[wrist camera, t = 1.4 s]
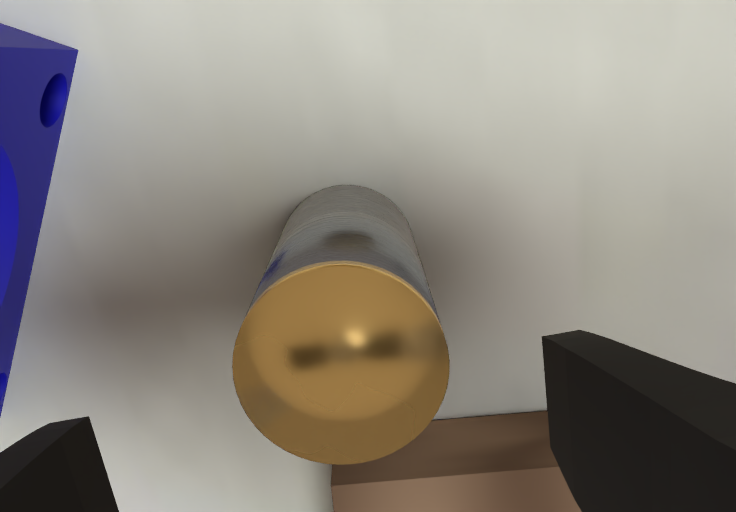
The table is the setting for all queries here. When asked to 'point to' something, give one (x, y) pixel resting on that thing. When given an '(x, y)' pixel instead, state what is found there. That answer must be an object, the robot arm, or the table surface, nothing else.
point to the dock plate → (461, 470)
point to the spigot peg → (342, 334)
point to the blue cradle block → (26, 163)
